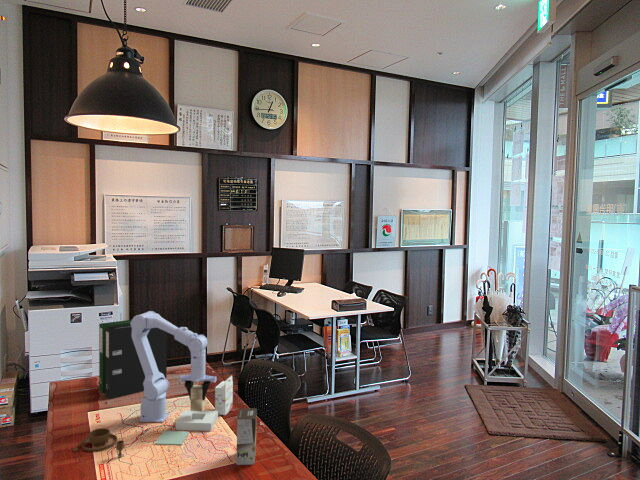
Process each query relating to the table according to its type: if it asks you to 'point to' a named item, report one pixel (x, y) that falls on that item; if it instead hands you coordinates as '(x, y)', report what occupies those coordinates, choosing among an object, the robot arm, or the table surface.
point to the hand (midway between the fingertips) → (197, 399)
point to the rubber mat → (172, 438)
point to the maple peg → (197, 398)
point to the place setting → (101, 441)
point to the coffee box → (246, 436)
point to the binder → (126, 358)
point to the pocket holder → (197, 420)
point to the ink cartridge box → (224, 397)
